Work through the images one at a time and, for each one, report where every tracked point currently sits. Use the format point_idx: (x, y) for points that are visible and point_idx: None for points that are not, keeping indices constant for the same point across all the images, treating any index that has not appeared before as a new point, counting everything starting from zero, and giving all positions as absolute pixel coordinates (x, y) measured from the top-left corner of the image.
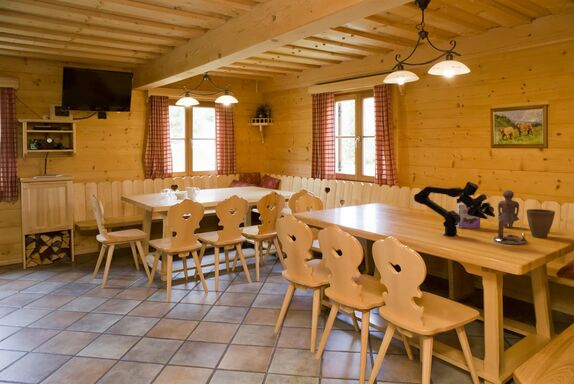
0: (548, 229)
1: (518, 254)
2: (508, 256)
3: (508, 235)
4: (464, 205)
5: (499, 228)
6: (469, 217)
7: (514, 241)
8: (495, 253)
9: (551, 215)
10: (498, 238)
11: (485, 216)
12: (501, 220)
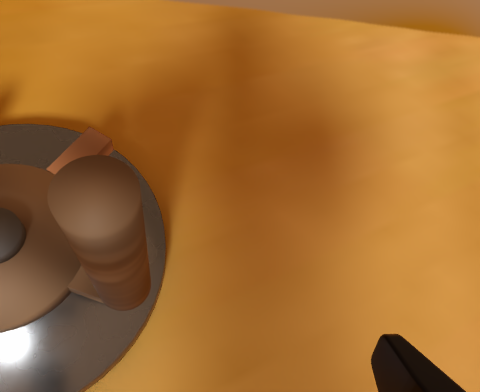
0: None
1: (375, 90)
2: (459, 112)
3: (18, 240)
4: None
5: (145, 254)
6: None
7: None
8: (473, 183)
9: None
10: (55, 346)
11: (442, 371)
12: (113, 182)
